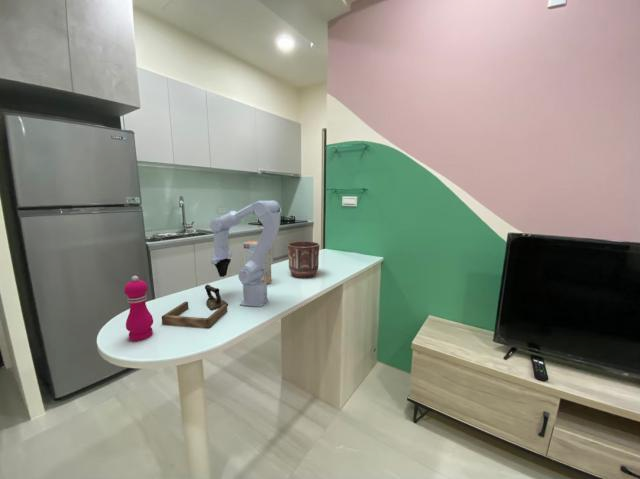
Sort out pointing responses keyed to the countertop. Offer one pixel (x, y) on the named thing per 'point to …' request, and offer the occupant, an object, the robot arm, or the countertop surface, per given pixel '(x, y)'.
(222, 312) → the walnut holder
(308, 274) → the pottery
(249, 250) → the cracker box
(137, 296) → the pepper mill
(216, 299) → the clothes iron
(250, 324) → the countertop surface
